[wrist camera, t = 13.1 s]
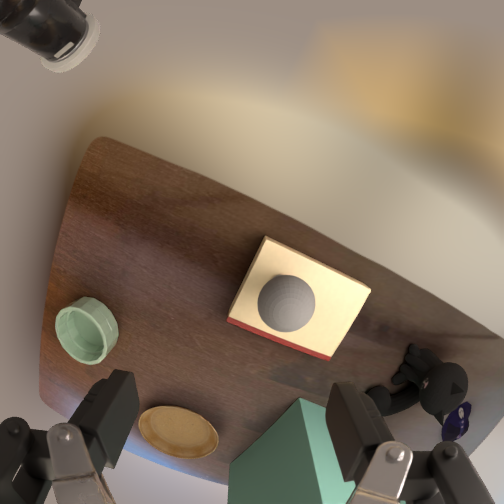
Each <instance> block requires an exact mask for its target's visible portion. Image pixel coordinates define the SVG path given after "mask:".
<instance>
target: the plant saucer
mask: <svg viewBox="0 0 504 504" xmlns="http://www.w3.org/2000/svg"><path fill="white" fill-rule="evenodd" d="M138 424H139V425H138V426H139V430H140V432H141V434H142V436H143V437H144V439H145V440H146V441H147V442H148V443H149V444H150V445H152V446H153V447H154V448H156V449H157V450H159V451H161V452H163V453H165V454H168V455H170V456H174V457H178V458H184V459H196V458H201V457H205V456H207V455H209V454H211V453H212V452H213V451H214V450H215V449H216V448H217V446H218V443H219V437H218V434H217V432H216V430H215V428H214V427H213V426H212V425H211V424H210V423H209V422H208V421H207V420H206V419H205V418H204V417H202V416H201V415H199V414H198V413H196V412H194V411H192V410H189V409H186V408H183V407H179V406H169V405H167V406H158V407H154V408H151V409H148V410H146V411H145V412H144V413H142V415H141V416H140V418H139V422H138Z"/></svg>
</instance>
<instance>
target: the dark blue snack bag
mask: <svg viewBox="0 0 504 504" xmlns="http://www.w3.org/2000/svg"><path fill="white" fill-rule="evenodd" d="M470 412H471V404H469V403H468V402H465V403H463V404H461V405H459V406H458V407H457V408H456V409H455V410H454V411H452V412H451V413H450V414H449V416H448V418H447V419H446V421H445V423H444V426H443V428H442V440H443V441H452V442H453V441H454V440H456V439H459V438H461V436H463V435H464V434H465V433H466V432H467V430H468V427H469V421H468V417H469V415H470Z"/></svg>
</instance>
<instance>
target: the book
mask: <svg viewBox="0 0 504 504" xmlns="http://www.w3.org/2000/svg"><path fill="white" fill-rule="evenodd" d="M276 275H293V276H296V277H299V278H301V279H303V280H304V281H305V282H306V283H307V284H308V285H309V286H310V287H311V289H312V291H313V293H314V296H315V310H314V313H313V316H312V318H311V319H310V321H309V322H308V323H307V324H306V325H305V326H303V327H302V328H300V329H298V330H296V331H293V332H279V331H276V330H274V329H271V328H270V327H269V326H267V325H266V324H265V323H264V322H263V321H262V319H261V317H260V315H259V312H258V306H257V302H258V296H259V293H260V291H261V289H262V288H263V286H264V285H265V284H266V283H267V282H268V281H269V280H271V279H272V278H273V277H274V276H276ZM370 292H371V289H370V288H369V287H367V286H366V285H365V284H364V283H362V282H360V281H358V280H356V279H354V278H352V277H350V276H348V275H346V274H344V273H342V272H340V271H338V270H336V269H334V268H332V267H329V266H327V265H325V264H323V263H321V262H319V261H317V260H315V259H313V258H311V257H309V256H307V255H305V254H303V253H301V252H299V251H296V250H294V249H292V248H290V247H288V246H286V245H284V244H282V243H280V242H278V241H276V240H273V239H271V238H269V237H267V236H265V237H264V239H263V241H262V243H261V245H260V247H259V249H258V251H257V253H256V255H255V257H254V259H253V261H252V263H251V265H250V267H249V270H248V272H247V274H246V276H245V278H244V280H243V282H242V284H241V286H240V288H239V290H238V292H237V294H236V296H235V298H234V300H233V302H232V304H231V306H230V308H229V310H228V313H227V319H226V321H227V322H229V323H231V324H234V325H236V326H239V327H241V328H243V329H246V330H248V331H251V332H253V333H255V334H258V335H260V336H263V337H265V338H268V339H270V340H273V341H275V342H278V343H280V344H283V345H286V346H288V347H291V348H294V349H296V350H299V351H302V352H304V353H307V354H310V355H312V356H315V357H318V358H321V359H324V360H326V361H329V360H330V358H331V356H332V355H333V353H334V352H335V350H336V349H337V347H338V346H339V344H340V342H341V341H342V339H343V338H344V336H345V334H346V333H347V331H348V330H349V328H350V326H351V325H352V323H353V321H354V320H355V318H356V316H357V314H358V313H359V311H360V309H361V308H362V306H363V304H364V302H365V301H366V299H367V297H368V295H369V293H370Z"/></svg>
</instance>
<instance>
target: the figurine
mask: <svg viewBox="0 0 504 504" xmlns="http://www.w3.org/2000/svg"><path fill="white" fill-rule="evenodd" d="M409 351H410V353H408V354H407V355H406V356H405V360H406V361H407V362H408V363H407V365H406V364H403V365H401V367H400V371H401V372H400V373H398V374H396V375H395V376H394V377H393V379H392V383H393V384H394V385H399V384H401V383H402V382H404V381H406V380H409V381H412V382H414V383H415V384H414V385H413V386H411V387H410V388H408V389H406V390H405V391H403V392H401V393H398V394H396V395H393V396H390V393H389V390H388V389H387V388H386V387H383V386H377V387H375V388H373V389H371V390H370V391H369V392H368V394H367V395H368V396H369V397H370V398H372V399H373V401H374V403H375V405H376V406H377V410H379V412H380V414H381V416H388V415H392V414H395V413H398V412H400V411H403V410H405V409H407V408H409V407H411V406H413V405H414V404H416V403H418V402H419V401H420V403H421V406H422V407H423V409H424V410H425V411H426V412H427V413H429V414H431V415H434V417H435V418H436V419H437V420H438V421H439V423H440V424H441V425H442V426H443V420H444V415H446V414H449V413H451V412H452V411H454V410H455V409H456V408H457V407H458V406H459V405H460V404H461V403H462V401H463V400H464V398H465V396H466V393H467V390H468V378H467V374H466V372H465V371H464V369H463V368H462V367H461V366H460V365H458V364H456V363H451V362H447V363H443V362H442V361H441V360H440V359H439V358H438V357H437V356H436V355H435V354H434V353H433V352H432V351H430V350H429V349H421V350H419V348H418V346H417V345H416V344H412V345H411V346H410V347H409Z"/></svg>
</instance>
